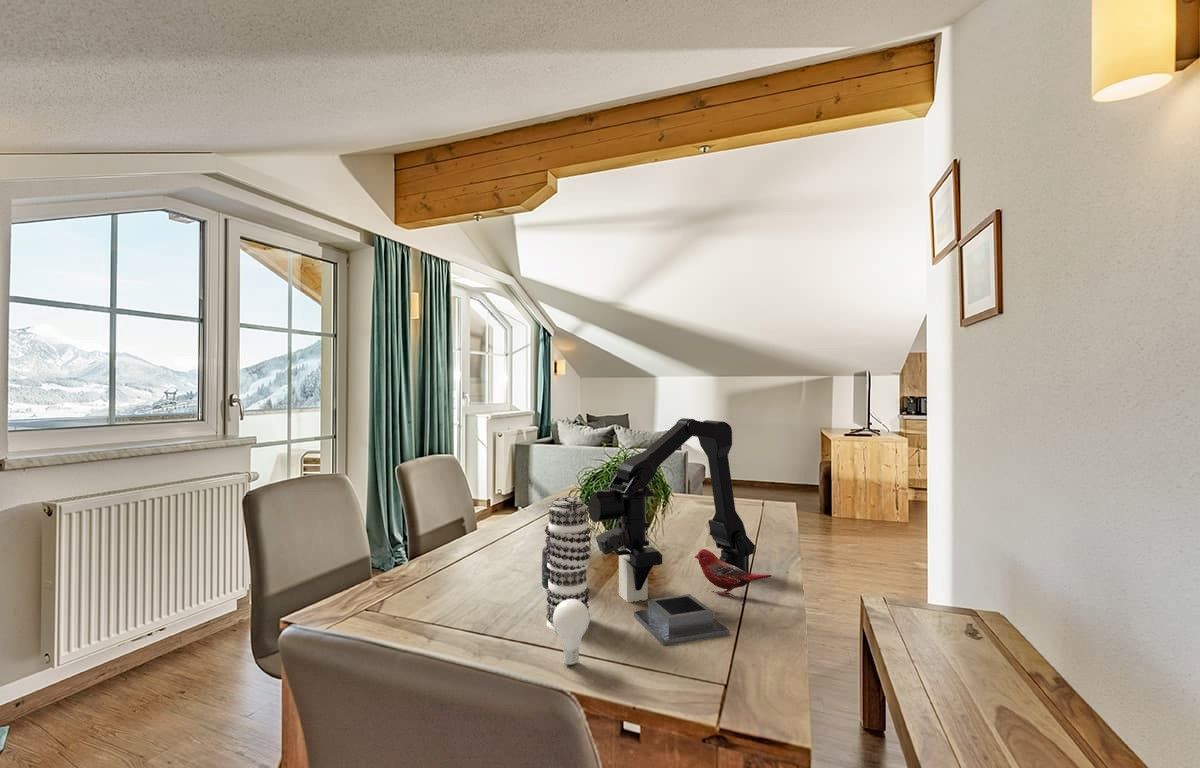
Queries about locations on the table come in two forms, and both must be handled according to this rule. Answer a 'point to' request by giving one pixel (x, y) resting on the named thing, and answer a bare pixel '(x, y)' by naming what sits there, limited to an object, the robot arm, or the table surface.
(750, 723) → the table surface
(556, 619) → the lightbulb
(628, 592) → the square peg
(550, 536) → the decorative candle
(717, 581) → the decorative bird figurine
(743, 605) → the table surface
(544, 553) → the pill bottle
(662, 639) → the square socket
